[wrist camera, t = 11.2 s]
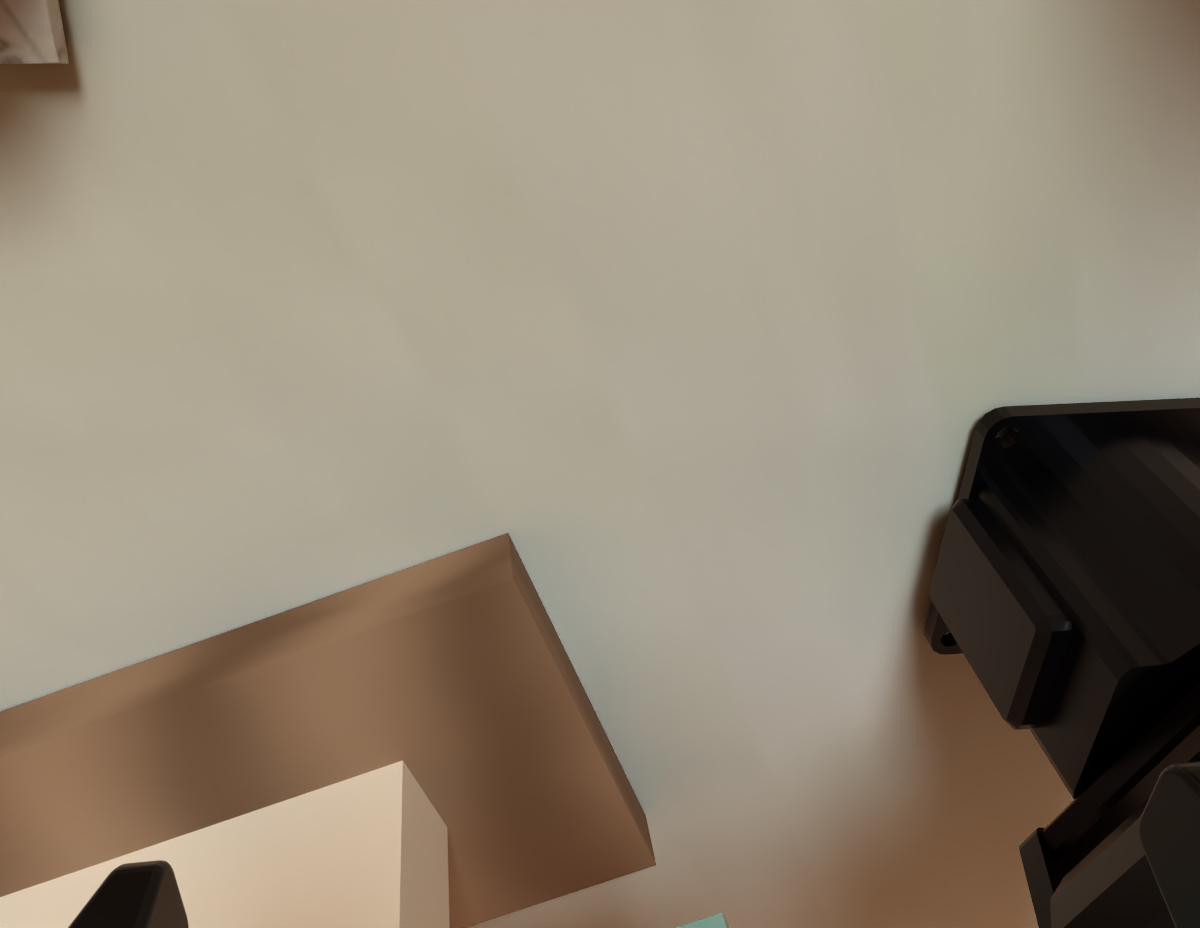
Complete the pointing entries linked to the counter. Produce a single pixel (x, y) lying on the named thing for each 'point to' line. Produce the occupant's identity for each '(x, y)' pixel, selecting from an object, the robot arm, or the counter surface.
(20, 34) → the packaged product
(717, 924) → the mint green pillar
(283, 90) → the counter surface
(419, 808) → the beige rectangular block
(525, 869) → the brown flat block
